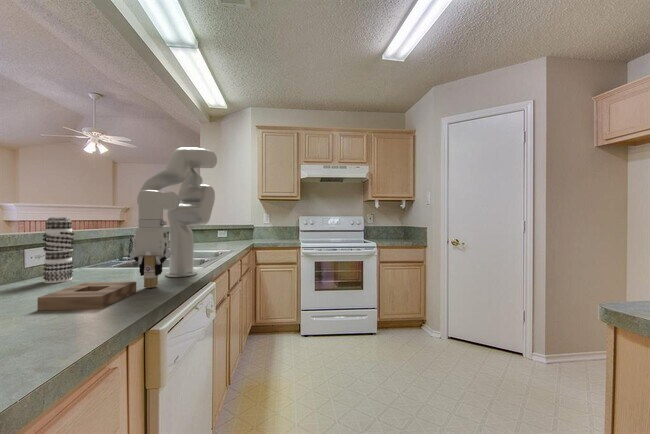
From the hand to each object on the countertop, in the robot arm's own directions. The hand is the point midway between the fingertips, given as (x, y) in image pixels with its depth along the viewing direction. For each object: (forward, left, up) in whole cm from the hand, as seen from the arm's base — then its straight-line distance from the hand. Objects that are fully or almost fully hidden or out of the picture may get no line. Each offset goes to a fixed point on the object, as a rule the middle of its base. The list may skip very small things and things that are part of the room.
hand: (151, 274), depth 103 cm
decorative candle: (-14, -41, -5) cm, 44 cm away
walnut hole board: (+15, -10, -5) cm, 18 cm away
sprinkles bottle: (0, 0, -5) cm, 5 cm away
